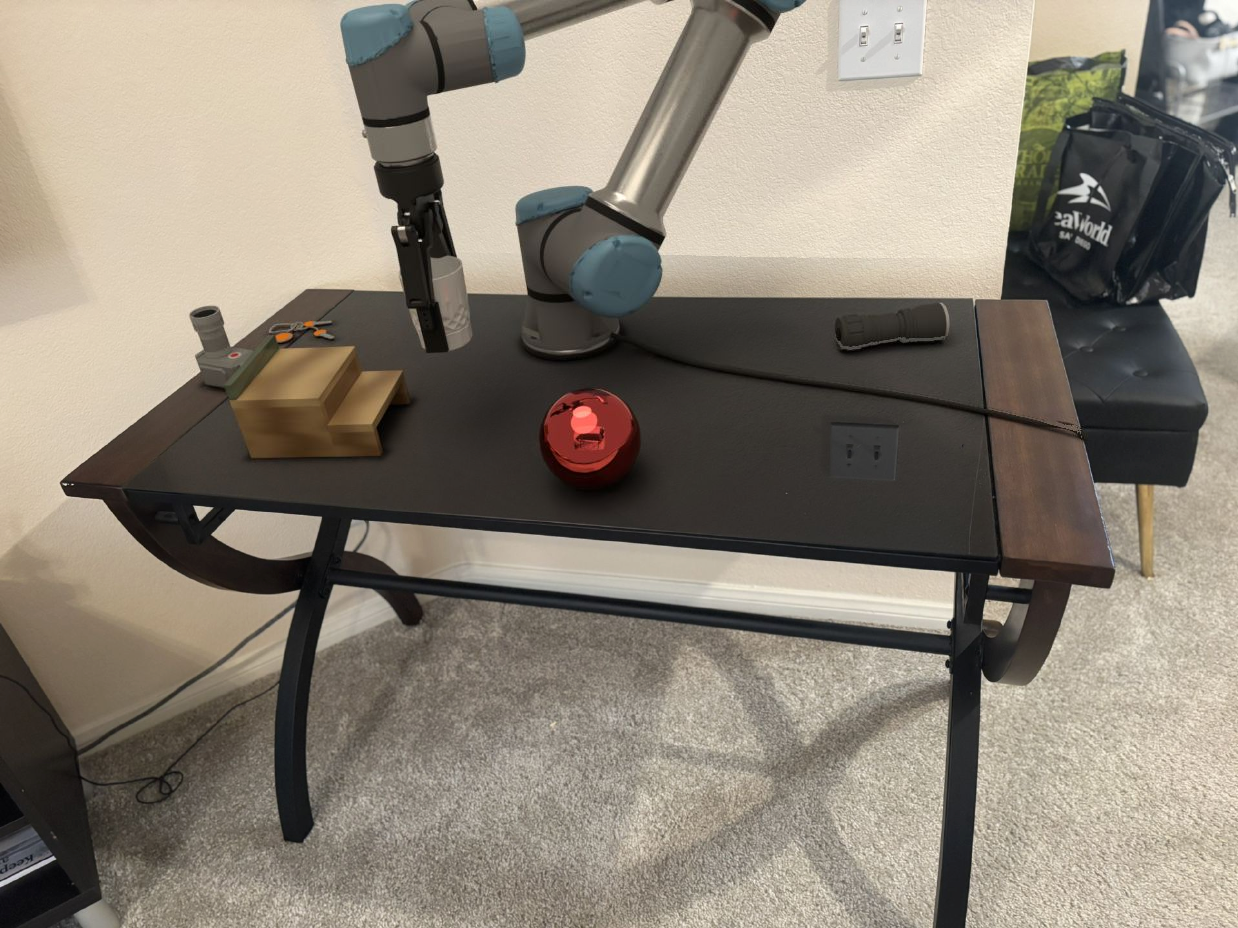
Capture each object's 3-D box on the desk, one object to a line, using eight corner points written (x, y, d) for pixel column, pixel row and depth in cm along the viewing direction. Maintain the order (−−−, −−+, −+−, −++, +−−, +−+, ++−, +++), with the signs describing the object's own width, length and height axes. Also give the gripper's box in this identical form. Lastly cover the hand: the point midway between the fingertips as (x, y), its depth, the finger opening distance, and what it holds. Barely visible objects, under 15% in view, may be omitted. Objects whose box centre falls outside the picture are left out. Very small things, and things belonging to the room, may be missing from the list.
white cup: (487, 328, 119) (473, 256, 113) (460, 357, 113) (443, 282, 107) (434, 324, 121) (417, 254, 116) (405, 352, 115) (386, 279, 110)
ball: (659, 462, 112) (654, 377, 105) (618, 519, 104) (608, 430, 97) (574, 445, 117) (563, 363, 110) (527, 498, 108) (513, 412, 101)
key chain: (259, 343, 150) (257, 339, 149) (277, 323, 155) (275, 319, 155) (332, 341, 148) (331, 337, 147) (348, 321, 154) (346, 317, 153)
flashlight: (841, 359, 129) (843, 325, 126) (830, 342, 134) (832, 309, 131) (947, 347, 130) (951, 312, 127) (933, 330, 134) (937, 296, 131)
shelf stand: (410, 400, 130) (393, 330, 124) (380, 456, 119) (359, 381, 112) (291, 403, 132) (268, 334, 126) (251, 458, 121) (223, 385, 114)
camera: (208, 297, 137) (287, 308, 132) (232, 365, 144) (308, 378, 139) (165, 322, 131) (246, 334, 126) (192, 392, 138) (270, 407, 132)
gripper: (399, 134, 112) (437, 302, 126) (344, 189, 96) (394, 376, 109) (458, 129, 111) (490, 300, 125) (412, 184, 95) (455, 374, 108)
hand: (445, 335), depth 117 cm, fingers closed on white cup, 8 cm apart
